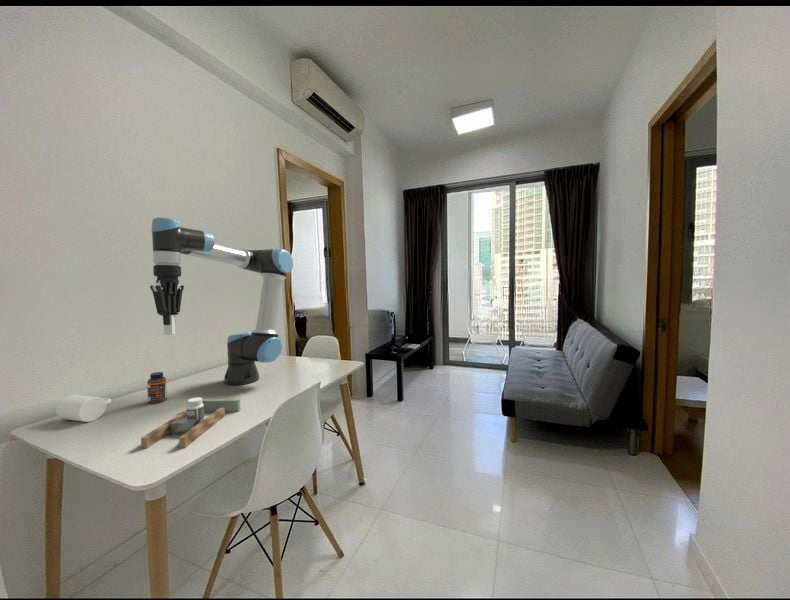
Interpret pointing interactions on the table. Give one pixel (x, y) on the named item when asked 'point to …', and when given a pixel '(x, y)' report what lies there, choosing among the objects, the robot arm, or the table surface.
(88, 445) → the table surface
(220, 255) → the robot arm
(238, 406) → the door edge rail
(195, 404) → the pill bottle
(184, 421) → the tall gray brick
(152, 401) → the supplement bottle
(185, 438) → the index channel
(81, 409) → the mug
